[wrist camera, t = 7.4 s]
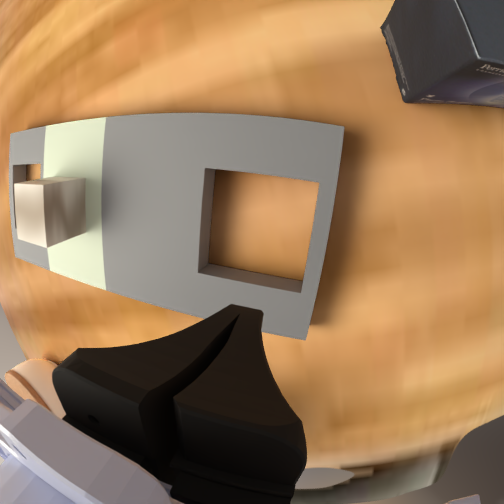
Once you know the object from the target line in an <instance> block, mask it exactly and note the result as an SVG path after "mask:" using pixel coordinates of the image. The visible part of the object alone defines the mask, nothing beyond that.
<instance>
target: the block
mask: <svg viewBox="0 0 504 504" xmlns="http://www.w3.org/2000/svg"><path fill="white" fill-rule="evenodd" d="M85 180H86V178H79V177H48V178H42V179H36V180H31V181H25V182H20V183H15V184H14V194H15V213H16V225H17V235H18V239H20V240H23V241H26V242H29V243H32V244H36V245H39V246H42V247H45V248H48V247H51V246H53V245H56V244H58V243H61V242H63V241H66V240H68V239H71V238H73V237H76V236H79V235H81V234H84V233H86V209H85Z"/></svg>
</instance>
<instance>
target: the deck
mask: <svg viewBox="0 0 504 504" xmlns="http://www.w3.org/2000/svg"><path fill="white" fill-rule="evenodd" d="M343 135H344V127H343V126H338V125H332V124H326V123H319V122H312V121H305V120H297V119H289V118H280V117H270V116H258V115H244V114H224V113H157V114H137V115H124V116H112V117H103V118H94V119H86V120H79V121H72V122H66V123H60V124H54V125H48V126H43V127H38V128H33V129H29V130H24V131H20V132H16V133H12V134H11V136H10V153H9V197H10V215H11V226H12V236H13V244H14V251H15V257H17V258H20V259H22V260H24V261H27V262H29V263H32V264H34V265H37V266H40V267H42V268H45V269H47V270H50V271H53V272H55V273H58V274H61V275H63V276H66V277H69V278H72V279H74V280H77V281H80V282H83V283H86V284H89V285H92V286H95V287H98V288H101V289H104V290H107V291H110V292H113V293H116V294H119V295H122V296H125V297H129V298H132V299H135V300H139V301H142V302H145V303H149V304H152V305H156V306H159V307H163V308H166V309H170V310H173V311H177V312H181V313H185V314H188V315H192V316H196V317H200V318H204V319H206V318H208V317H209V316H211V315H213V314H215V313H216V312H218V311H220V310H221V309H223V308H225V307H226V306H228V305H230V304H235V305H240V306H244V307H249V308H254V309H259V310H262V311H263V313H264V316H263V322H262V329H261V332H265V333H270V334H275V335H280V336H285V337H290V338H295V339H301V340H306V337H307V333H308V329H309V325H310V321H311V316H312V312H313V308H314V304H315V299H316V295H317V290H318V286H319V281H320V276H321V271H322V267H323V262H324V257H325V251H326V246H327V241H328V235H329V230H330V224H331V219H332V213H333V207H334V201H335V194H336V188H337V181H338V174H339V167H340V160H341V152H342V144H343ZM26 164H41V179H42V178H48V177H79V178H86V180H85V209H86V233H84V234H81V235H79V236H76V237H73V238H71V239H68V240H66V241H63V242H61V243H58V244H56V245H53V246H51V247H48V248H45V247H42V246H39V245H36V244H32V243H29V242H26V241H23V240H20V239H18V235H17V225H16V213H15V194H14V184H15V183H20V182H25V181H26ZM216 169H221V170H231V171H240V172H249V173H257V174H265V175H272V176H279V177H287V178H293V179H300V180H306V181H312V182H318V183H319V189H318V196H317V203H316V209H315V215H314V222H313V228H312V234H311V240H310V245H309V251H308V257H307V262H306V268H305V273H304V278H303V281H299V280H293V279H288V278H282V277H277V276H272V275H266V274H261V273H256V272H251V271H245V270H240V269H235V268H230V267H225V266H220V265H215V264H209V263H208V259H209V244H210V230H211V216H212V204H213V192H214V181H215V170H216Z"/></svg>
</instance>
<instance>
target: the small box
mask: <svg viewBox="0 0 504 504" xmlns="http://www.w3.org/2000/svg"><path fill="white" fill-rule="evenodd" d="M380 28H381V29H382V34H383V36H384V37H385V39H386V44H387V46H388V49H389V52H390V56H391V58H392V61H393V66H394V69H395V73H396V80H397V83H398V86H399V89H400V92H401V95H402V99H403V101H404V102H405V103H446V104H465V105H478V106H490V107H499V108H504V0H395V1H394V4H393V6H392V8H391V10H390V12H389V14H388V16H387V18H386V20H385V22H384V23H383V24H382V26H381V27H380Z"/></svg>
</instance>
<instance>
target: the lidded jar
mask: <svg viewBox="0 0 504 504" xmlns="http://www.w3.org/2000/svg"><path fill="white" fill-rule="evenodd" d="M57 366H58V365H57V364H56V363H54V362H53V361H50V360H47V361H46V360H43V359H29V360H26V361H24V362H22V363H20V364H18V365H17V366H15V367H14V368H13V369H12V370H9V371H8V372H6V374H5V379H6V382H7V385H8V386H9V387H10V388H11V389H12V390H13V391H15V392H16V393H17V394H18V395H19V396H20V397H22V398H23V399H24V400H26V399H32V400H34V401H35V402H37V403H39V404H41V405H42V406H44V407H45V408H47V409H48V410H49V411H51V412H52V413H54V414H55V415H56V416H58V417H59V418H61V419H62V418H63V417H64V416H65V415H66V413H65V411H64V409H63V407H62V405H61V402H60V400H59V398H58V396H57V393H56V391H55V389H54V386H53V382H52V372H53V370H54V369H55V368H56V367H57Z"/></svg>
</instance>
